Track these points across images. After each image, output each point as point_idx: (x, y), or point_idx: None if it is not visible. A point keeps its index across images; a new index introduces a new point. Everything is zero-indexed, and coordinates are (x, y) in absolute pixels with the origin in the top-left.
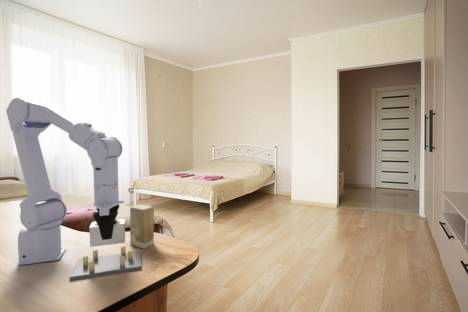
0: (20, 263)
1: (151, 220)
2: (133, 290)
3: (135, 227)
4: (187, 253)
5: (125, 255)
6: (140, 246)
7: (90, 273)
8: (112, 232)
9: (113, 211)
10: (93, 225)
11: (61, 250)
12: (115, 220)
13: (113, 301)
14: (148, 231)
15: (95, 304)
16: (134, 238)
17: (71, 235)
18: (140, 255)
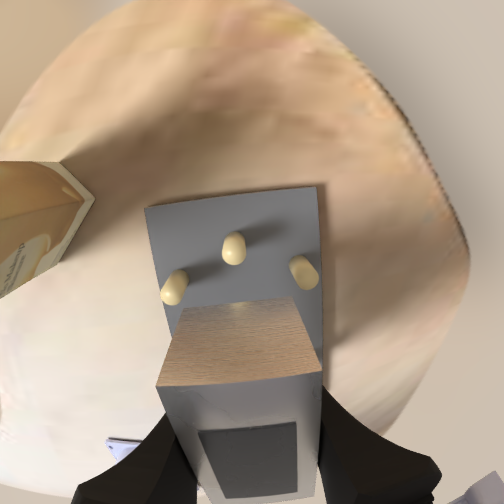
0: (197, 488)
1: None
2: (439, 206)
3: (19, 265)
4: (201, 8)
5: (183, 269)
6: (83, 216)
7: (320, 357)
8: (329, 395)
9: (166, 501)
10: (282, 494)
11: (122, 447)
12: (201, 438)
13: (463, 252)
14: (37, 184)
15: (457, 291)
16: (50, 254)
17: (24, 424)
18: (197, 200)
